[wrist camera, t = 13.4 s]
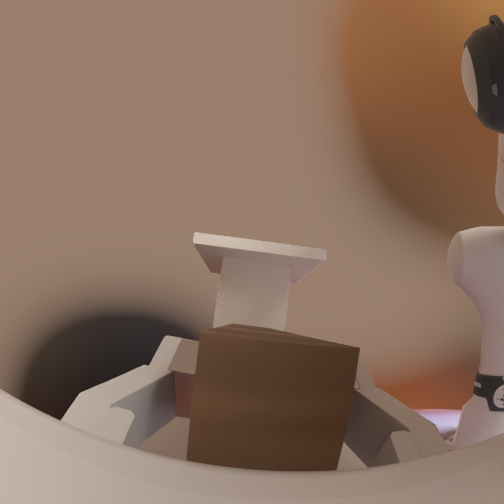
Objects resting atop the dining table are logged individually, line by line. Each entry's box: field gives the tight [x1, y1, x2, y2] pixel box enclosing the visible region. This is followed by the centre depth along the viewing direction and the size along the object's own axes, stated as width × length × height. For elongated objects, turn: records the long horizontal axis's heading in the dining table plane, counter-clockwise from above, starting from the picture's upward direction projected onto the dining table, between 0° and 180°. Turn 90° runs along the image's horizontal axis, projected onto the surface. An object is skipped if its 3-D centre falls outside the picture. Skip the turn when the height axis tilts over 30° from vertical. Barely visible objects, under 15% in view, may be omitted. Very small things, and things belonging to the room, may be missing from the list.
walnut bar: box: [186, 323, 360, 471], centre depth 14 cm, size 18×3×3 cm, turn 2°
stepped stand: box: [141, 232, 367, 470], centre depth 24 cm, size 31×12×28 cm, turn 2°
